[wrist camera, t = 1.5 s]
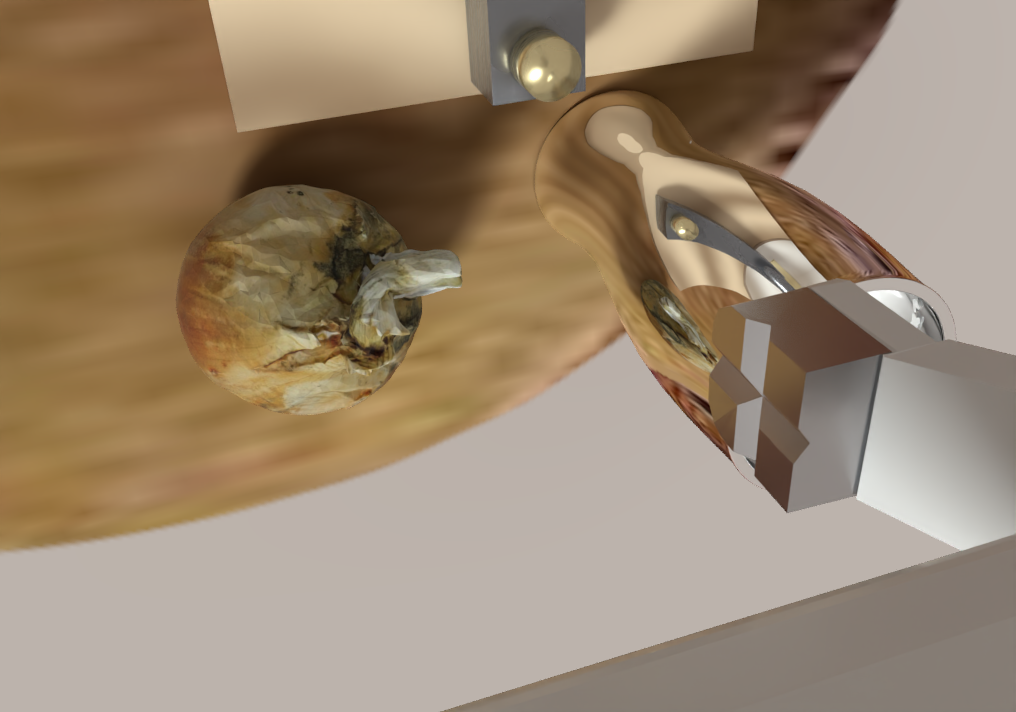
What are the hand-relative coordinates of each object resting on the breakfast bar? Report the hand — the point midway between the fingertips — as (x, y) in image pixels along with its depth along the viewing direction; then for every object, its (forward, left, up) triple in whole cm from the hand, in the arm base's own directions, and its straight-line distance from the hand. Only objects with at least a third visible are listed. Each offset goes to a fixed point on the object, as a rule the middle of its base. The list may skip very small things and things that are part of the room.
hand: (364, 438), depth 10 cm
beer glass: (+9, +13, -23) cm, 28 cm away
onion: (+10, +1, -23) cm, 25 cm away
